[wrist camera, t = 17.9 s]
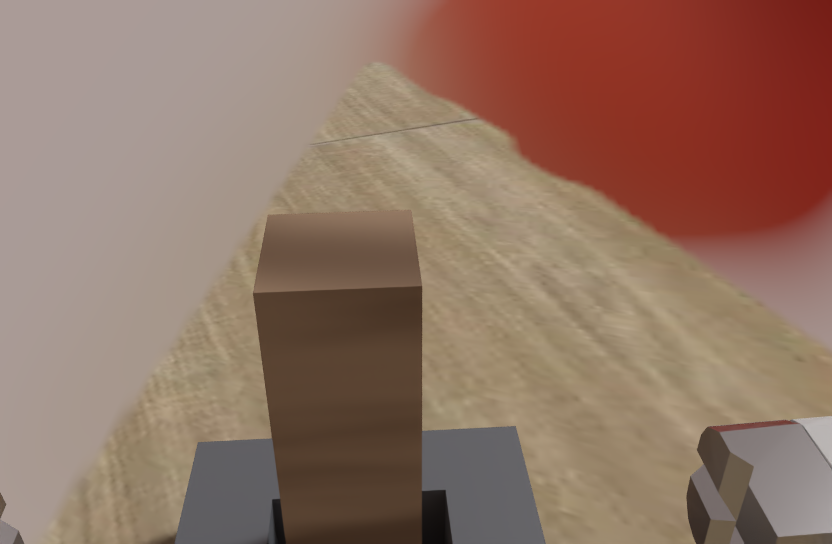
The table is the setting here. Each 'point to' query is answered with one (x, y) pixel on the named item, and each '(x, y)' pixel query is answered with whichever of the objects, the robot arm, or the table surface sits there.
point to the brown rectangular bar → (344, 374)
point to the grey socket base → (441, 491)
